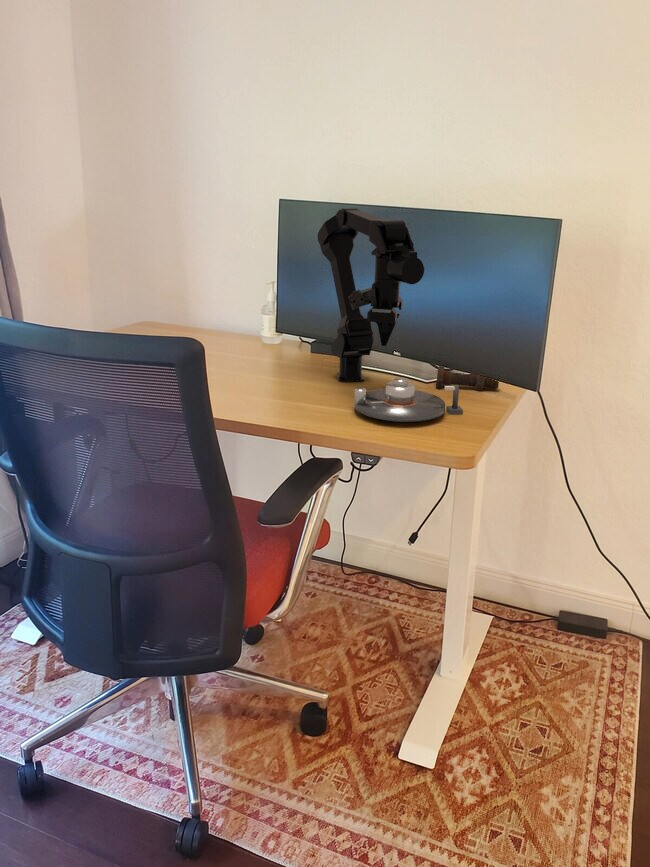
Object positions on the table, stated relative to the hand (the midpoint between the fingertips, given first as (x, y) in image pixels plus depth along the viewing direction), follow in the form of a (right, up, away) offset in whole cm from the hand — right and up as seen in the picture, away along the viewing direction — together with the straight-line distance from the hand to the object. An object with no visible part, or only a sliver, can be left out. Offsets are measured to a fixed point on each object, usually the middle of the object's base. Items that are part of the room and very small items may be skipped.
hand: (384, 345), depth 175 cm
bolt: (+21, -10, +11) cm, 26 cm away
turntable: (+3, -15, -8) cm, 17 cm away
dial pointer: (+15, -16, -7) cm, 23 cm away
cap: (+3, -13, -9) cm, 16 cm away
